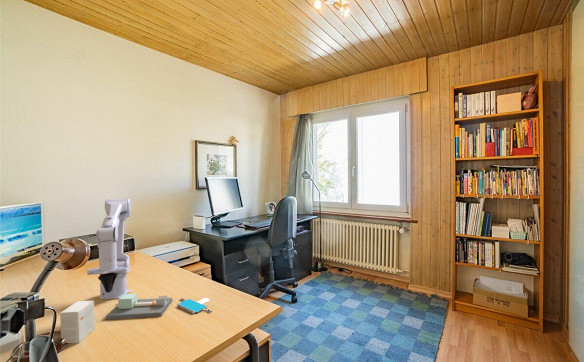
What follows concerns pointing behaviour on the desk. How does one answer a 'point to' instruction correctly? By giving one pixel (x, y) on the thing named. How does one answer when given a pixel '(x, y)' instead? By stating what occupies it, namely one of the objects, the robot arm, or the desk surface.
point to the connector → (161, 301)
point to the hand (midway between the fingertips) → (109, 291)
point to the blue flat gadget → (193, 305)
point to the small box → (77, 321)
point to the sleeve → (127, 301)
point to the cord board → (139, 310)
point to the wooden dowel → (142, 304)
